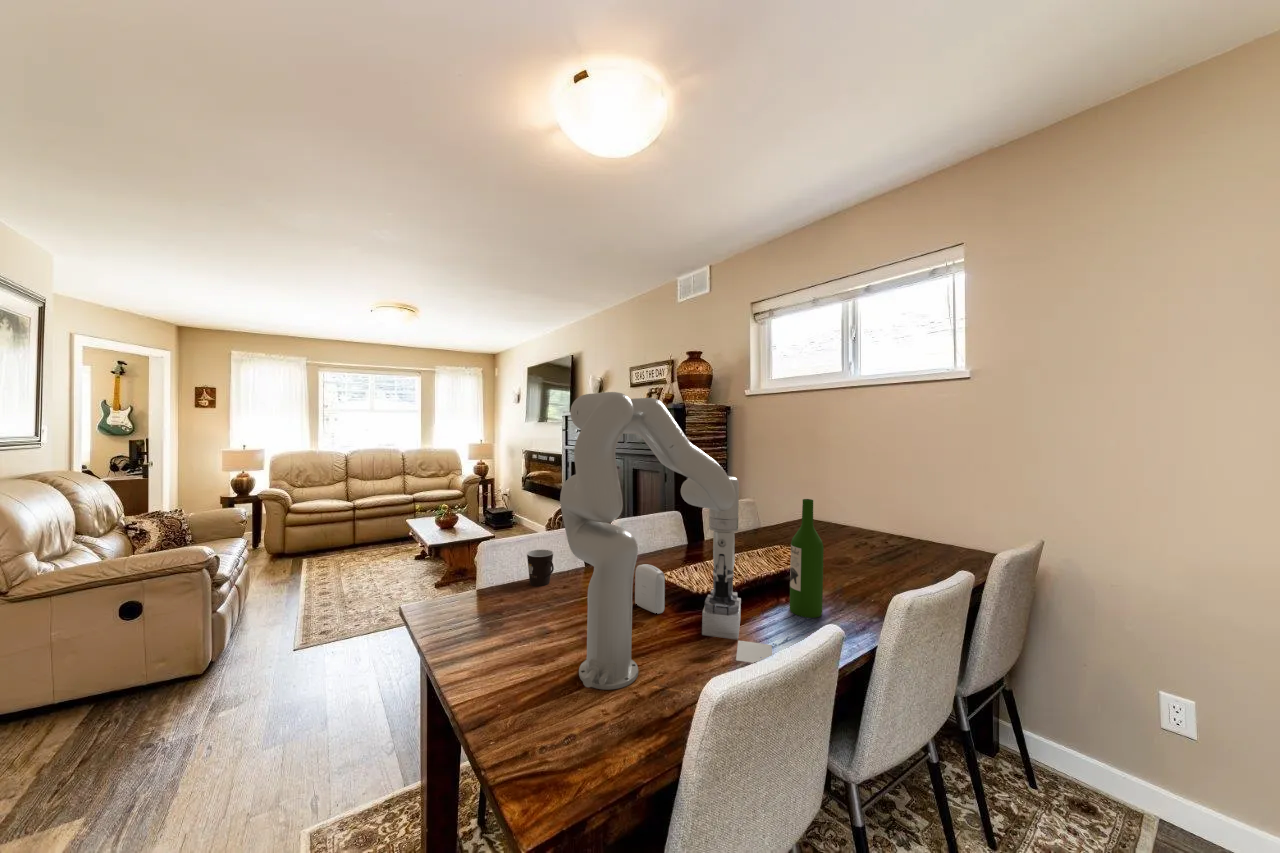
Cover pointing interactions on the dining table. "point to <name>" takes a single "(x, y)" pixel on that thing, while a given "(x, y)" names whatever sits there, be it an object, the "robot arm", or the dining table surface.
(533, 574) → the coffee mug
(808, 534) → the wine bottle
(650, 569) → the photo printer
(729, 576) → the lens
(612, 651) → the robot arm
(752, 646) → the mat
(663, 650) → the dining table surface
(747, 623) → the dining table surface
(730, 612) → the octagonal socket block
